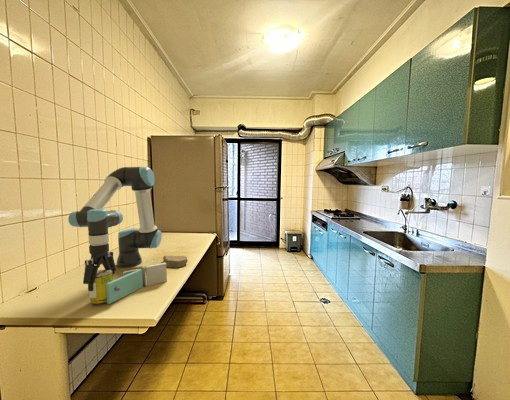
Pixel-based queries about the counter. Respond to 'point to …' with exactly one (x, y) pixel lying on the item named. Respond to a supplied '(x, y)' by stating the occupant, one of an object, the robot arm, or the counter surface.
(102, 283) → the beverage can
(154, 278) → the wall
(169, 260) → the stone
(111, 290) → the door
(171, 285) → the counter surface
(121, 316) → the counter surface
